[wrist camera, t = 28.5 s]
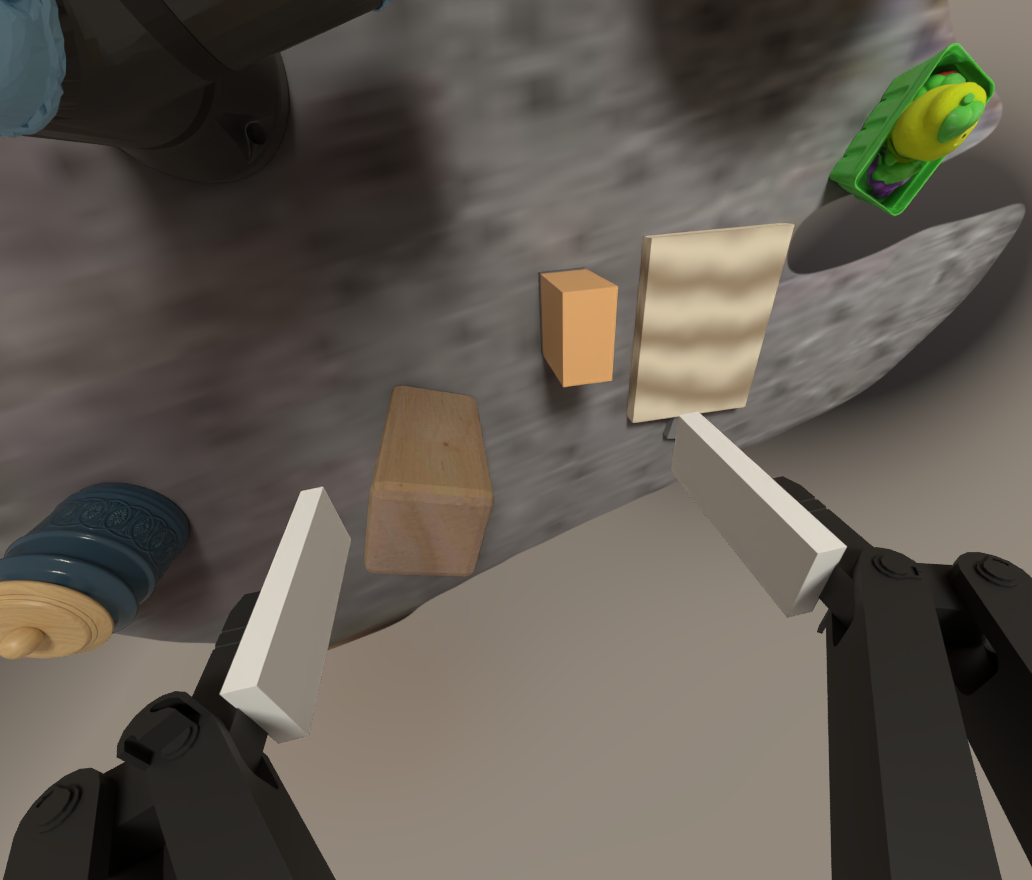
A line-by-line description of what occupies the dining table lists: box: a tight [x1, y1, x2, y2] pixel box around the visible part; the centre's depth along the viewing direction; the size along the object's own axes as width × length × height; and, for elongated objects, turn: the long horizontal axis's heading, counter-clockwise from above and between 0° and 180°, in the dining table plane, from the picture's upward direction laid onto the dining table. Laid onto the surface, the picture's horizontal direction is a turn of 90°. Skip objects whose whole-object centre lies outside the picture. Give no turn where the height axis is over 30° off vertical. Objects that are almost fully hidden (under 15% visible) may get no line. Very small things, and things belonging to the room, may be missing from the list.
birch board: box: [627, 223, 795, 423], centre depth 49 cm, size 22×16×2 cm
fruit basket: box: [829, 43, 995, 216], centre depth 37 cm, size 11×9×11 cm
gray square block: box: [663, 413, 702, 439], centre depth 57 cm, size 4×4×2 cm
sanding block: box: [539, 268, 618, 387], centre depth 42 cm, size 9×5×10 cm, turn 4°
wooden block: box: [364, 385, 494, 576], centre depth 42 cm, size 10×10×20 cm
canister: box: [0, 483, 189, 659], centre depth 44 cm, size 13×13×18 cm
